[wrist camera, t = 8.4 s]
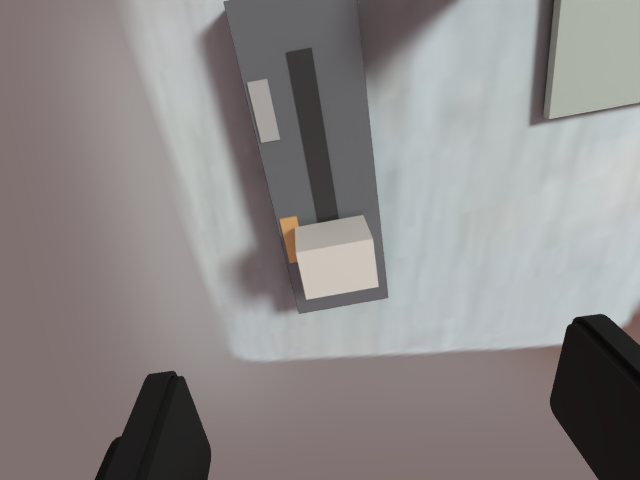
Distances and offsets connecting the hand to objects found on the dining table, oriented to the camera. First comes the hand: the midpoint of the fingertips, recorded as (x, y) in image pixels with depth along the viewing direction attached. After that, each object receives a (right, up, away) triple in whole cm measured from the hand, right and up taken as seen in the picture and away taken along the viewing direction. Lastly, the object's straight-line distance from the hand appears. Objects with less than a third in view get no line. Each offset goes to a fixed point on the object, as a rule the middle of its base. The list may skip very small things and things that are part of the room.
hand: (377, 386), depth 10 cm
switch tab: (-1, +3, +14) cm, 14 cm away
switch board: (-1, +8, +14) cm, 16 cm away
